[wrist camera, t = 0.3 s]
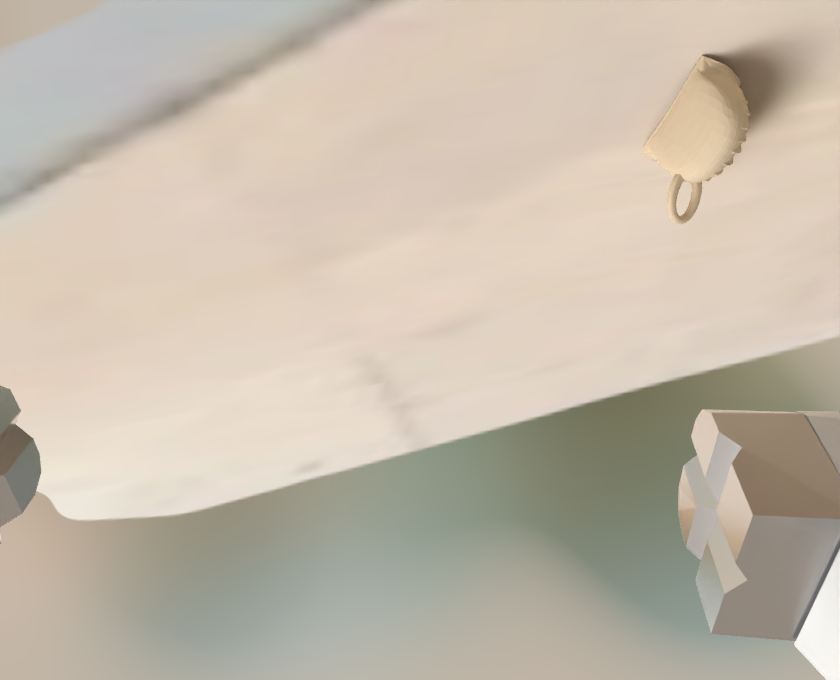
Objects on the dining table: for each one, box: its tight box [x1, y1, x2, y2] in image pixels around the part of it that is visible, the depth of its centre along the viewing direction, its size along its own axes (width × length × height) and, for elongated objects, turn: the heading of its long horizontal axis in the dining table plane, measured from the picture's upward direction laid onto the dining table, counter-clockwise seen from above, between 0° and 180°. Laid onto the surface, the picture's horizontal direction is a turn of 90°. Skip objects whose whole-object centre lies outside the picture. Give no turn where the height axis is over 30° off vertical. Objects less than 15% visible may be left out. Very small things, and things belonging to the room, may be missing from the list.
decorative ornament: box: [642, 55, 751, 224], centre depth 43 cm, size 4×8×5 cm, turn 158°
